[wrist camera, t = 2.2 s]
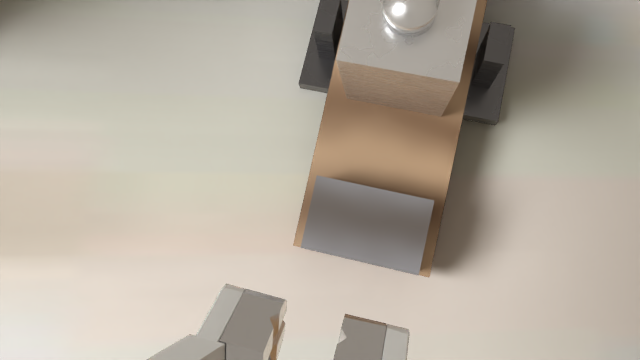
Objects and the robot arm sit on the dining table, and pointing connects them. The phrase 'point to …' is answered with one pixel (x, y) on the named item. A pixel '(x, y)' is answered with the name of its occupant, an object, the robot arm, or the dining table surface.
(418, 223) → the beam
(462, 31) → the block
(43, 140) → the dining table surface
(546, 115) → the dining table surface
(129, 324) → the dining table surface
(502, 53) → the fulcrum
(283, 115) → the dining table surface
